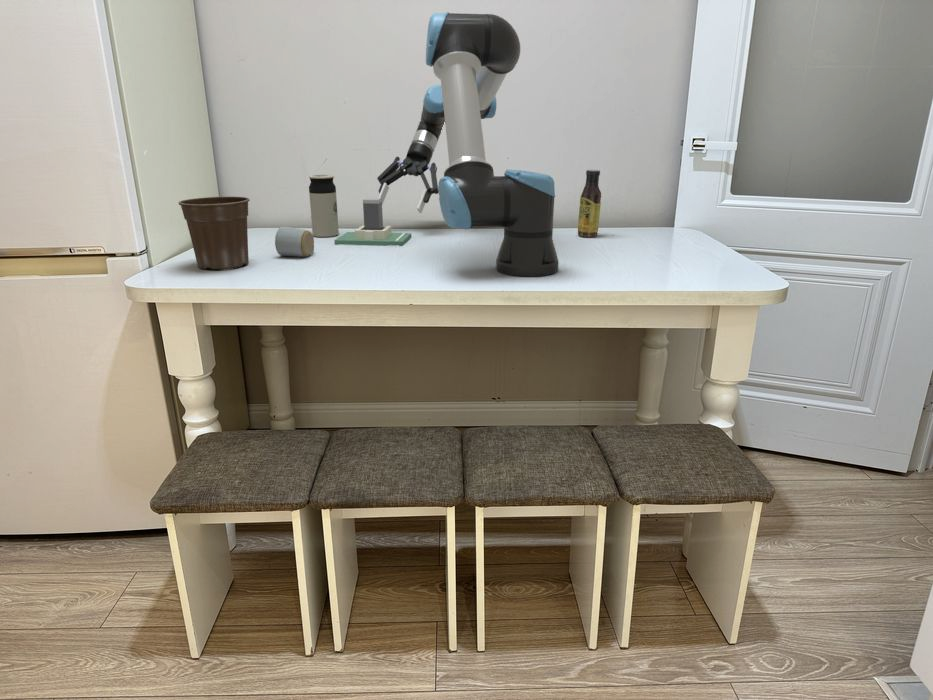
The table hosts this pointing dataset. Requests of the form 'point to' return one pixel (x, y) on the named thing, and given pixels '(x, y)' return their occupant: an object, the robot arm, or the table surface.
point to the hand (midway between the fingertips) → (398, 207)
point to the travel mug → (323, 206)
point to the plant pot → (218, 230)
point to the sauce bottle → (590, 205)
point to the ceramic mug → (294, 242)
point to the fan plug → (373, 214)
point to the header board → (374, 237)
